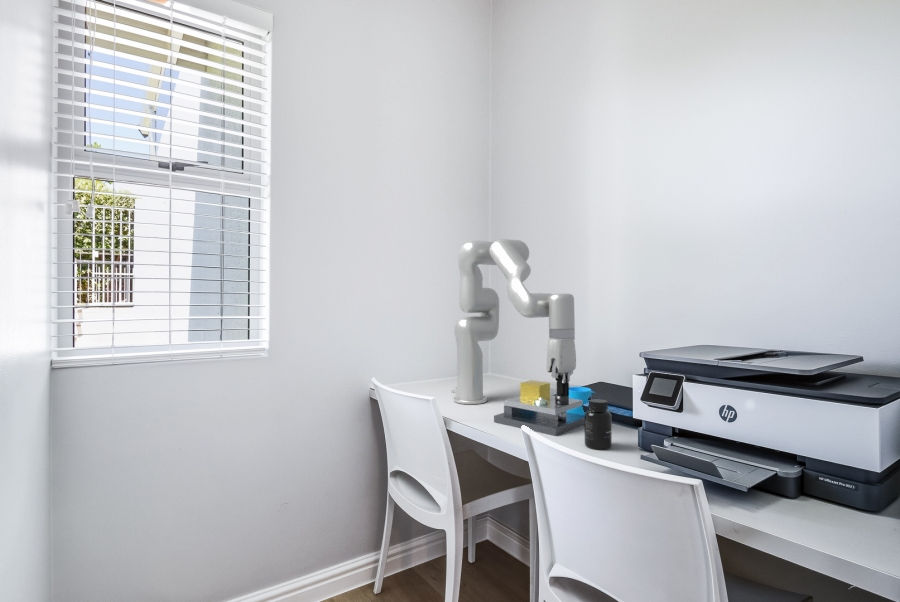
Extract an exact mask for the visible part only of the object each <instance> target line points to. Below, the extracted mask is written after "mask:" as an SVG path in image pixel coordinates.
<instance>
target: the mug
mask: <svg viewBox="0 0 900 602" xmlns="http://www.w3.org/2000/svg"><path fill="white" fill-rule="evenodd" d="M592 393H596V392H595V391H593V390H592V389H591V388H590V387H583V386H569V398H572V399H578V400H583V405H584V404H586V403H588V402H589V400H588V398H589V397H590V396H591V397H592ZM566 412H568V413H573V414H579V415H584V416H585V412H584V410H583V407H582V406H580V407H577V408H574V409H571V410H568V411H566Z"/></svg>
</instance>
